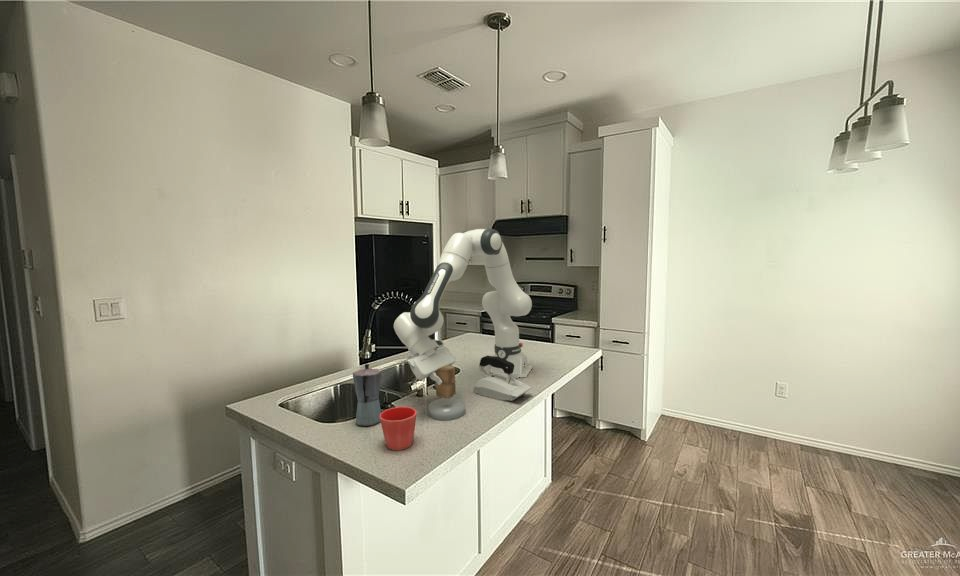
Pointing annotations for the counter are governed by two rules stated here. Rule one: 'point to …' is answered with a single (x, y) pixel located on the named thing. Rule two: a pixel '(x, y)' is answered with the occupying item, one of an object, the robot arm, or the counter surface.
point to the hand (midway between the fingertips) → (447, 380)
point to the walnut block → (446, 382)
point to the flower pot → (398, 427)
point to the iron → (499, 380)
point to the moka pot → (367, 395)
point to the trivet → (446, 409)
